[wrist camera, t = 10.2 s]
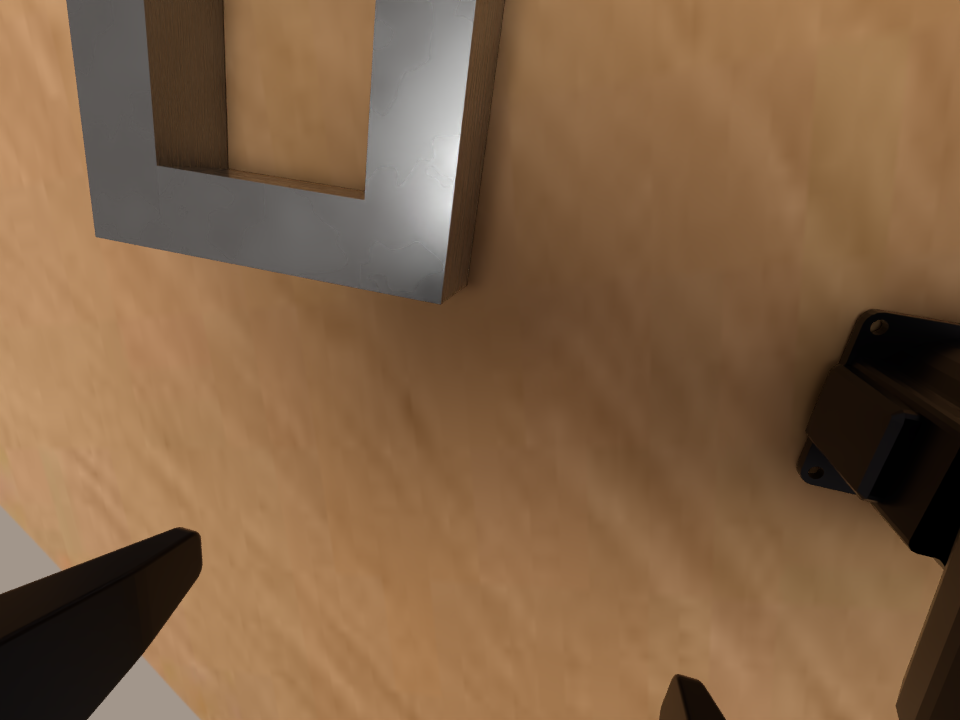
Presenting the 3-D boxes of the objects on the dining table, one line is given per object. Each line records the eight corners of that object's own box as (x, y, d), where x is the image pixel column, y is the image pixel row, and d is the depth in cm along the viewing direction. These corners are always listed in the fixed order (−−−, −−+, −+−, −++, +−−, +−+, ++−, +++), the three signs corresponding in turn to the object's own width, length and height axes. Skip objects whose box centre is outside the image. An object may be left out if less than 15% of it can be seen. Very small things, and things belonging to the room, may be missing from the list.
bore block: (524, -149, 15) (504, -241, 12) (467, 284, 19) (440, 304, 16) (142, -167, 17) (35, -250, 14) (171, 229, 22) (95, 236, 18)
